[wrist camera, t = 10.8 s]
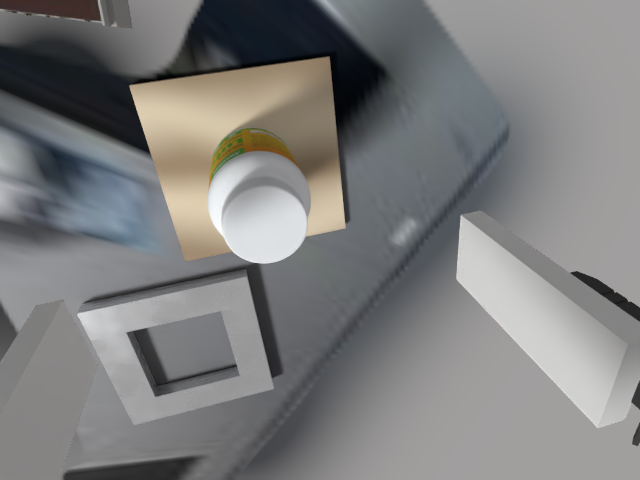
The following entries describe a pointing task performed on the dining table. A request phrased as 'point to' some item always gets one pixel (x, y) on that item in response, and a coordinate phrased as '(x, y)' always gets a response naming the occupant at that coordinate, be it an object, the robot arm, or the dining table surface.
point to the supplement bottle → (258, 195)
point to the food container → (74, 10)
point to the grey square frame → (168, 306)
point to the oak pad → (229, 115)
